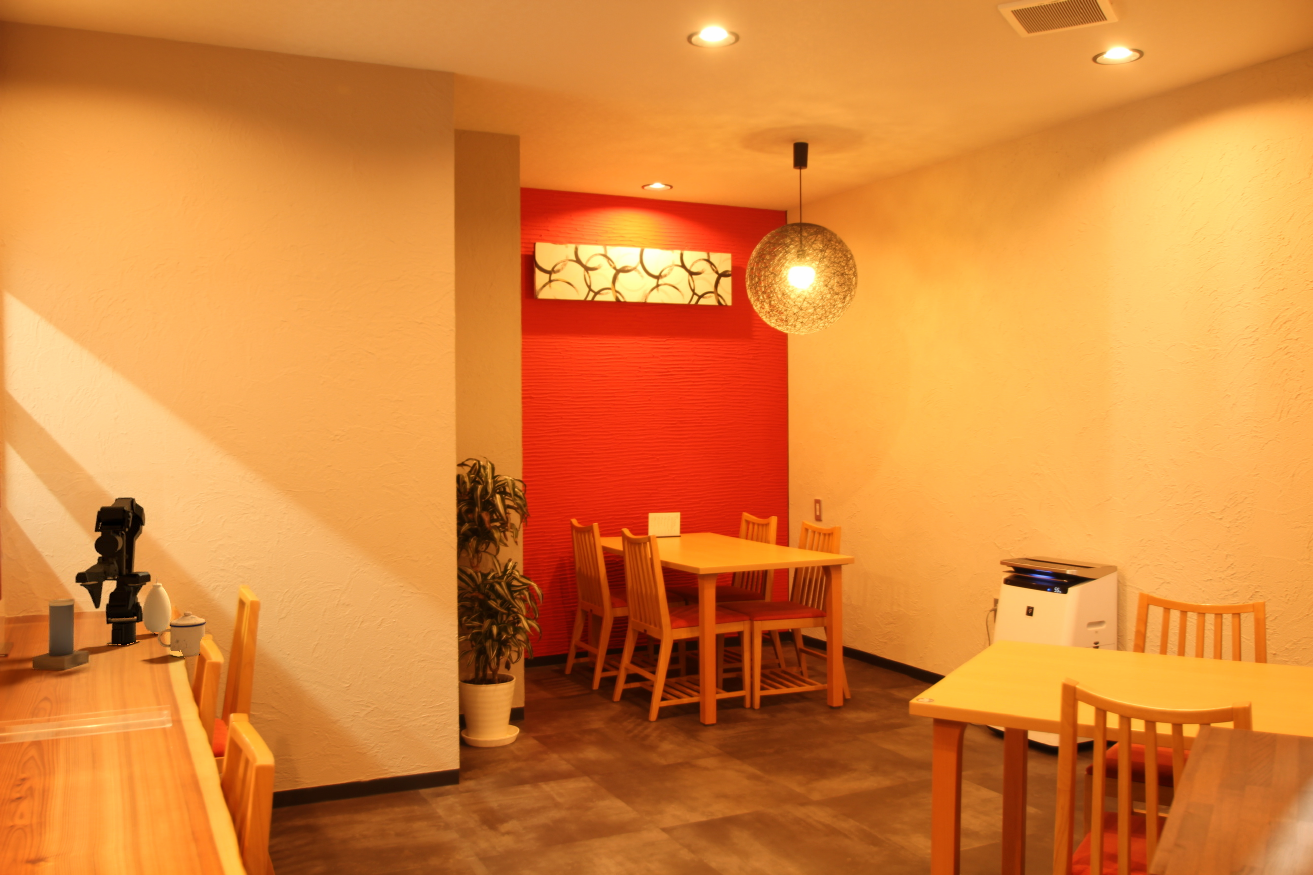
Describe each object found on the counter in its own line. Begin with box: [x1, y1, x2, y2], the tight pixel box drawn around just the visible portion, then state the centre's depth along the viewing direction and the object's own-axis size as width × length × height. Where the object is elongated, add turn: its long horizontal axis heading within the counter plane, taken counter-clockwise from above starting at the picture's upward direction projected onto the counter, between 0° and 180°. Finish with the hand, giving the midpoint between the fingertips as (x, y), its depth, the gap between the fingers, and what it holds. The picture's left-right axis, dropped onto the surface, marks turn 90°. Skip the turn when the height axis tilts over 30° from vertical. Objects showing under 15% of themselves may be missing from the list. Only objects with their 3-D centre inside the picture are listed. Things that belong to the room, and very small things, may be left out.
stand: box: [31, 650, 90, 671], centre depth 259 cm, size 9×9×3 cm
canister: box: [48, 598, 75, 656], centre depth 259 cm, size 6×6×14 cm
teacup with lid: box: [157, 611, 207, 658], centre depth 273 cm, size 12×9×12 cm
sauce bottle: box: [142, 574, 172, 634], centre depth 301 cm, size 8×8×18 cm
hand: (112, 608), depth 270 cm, fingers open, 9 cm apart
